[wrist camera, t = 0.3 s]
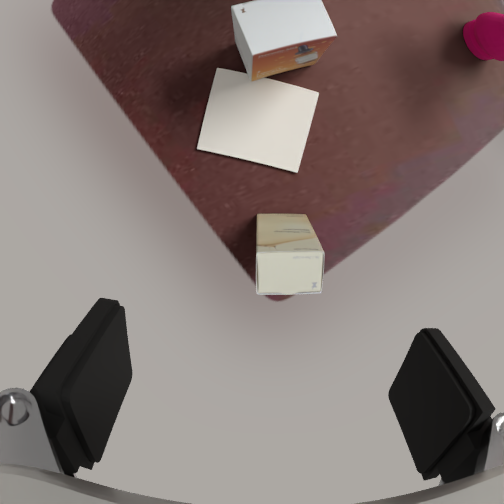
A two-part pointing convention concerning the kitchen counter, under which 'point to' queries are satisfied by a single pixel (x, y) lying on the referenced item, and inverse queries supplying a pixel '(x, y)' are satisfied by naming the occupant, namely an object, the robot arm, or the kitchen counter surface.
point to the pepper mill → (486, 36)
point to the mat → (257, 119)
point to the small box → (280, 34)
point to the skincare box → (287, 255)
